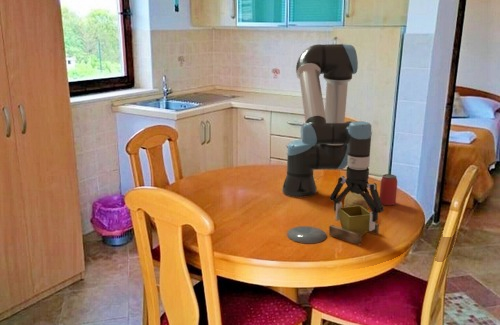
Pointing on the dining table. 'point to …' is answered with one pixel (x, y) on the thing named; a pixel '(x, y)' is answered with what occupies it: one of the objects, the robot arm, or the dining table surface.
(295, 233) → the grey round disc
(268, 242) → the dining table surface
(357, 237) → the wooden blocks
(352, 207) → the flower pot
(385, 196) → the beer can
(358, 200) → the potato
